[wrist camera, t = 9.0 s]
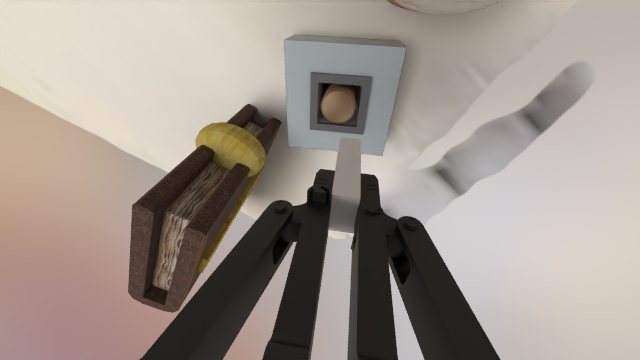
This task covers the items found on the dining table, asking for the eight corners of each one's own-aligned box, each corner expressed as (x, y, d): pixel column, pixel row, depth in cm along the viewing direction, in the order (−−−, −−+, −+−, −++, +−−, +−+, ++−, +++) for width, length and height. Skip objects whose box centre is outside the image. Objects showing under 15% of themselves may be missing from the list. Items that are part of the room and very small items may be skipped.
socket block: (296, 129, 42) (287, 148, 36) (295, 34, 33) (282, 40, 28) (380, 137, 40) (382, 158, 35) (399, 41, 32) (407, 48, 27)
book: (252, 197, 52) (184, 318, 32) (214, 179, 51) (118, 294, 31) (294, 111, 40) (225, 221, 20) (245, 84, 38) (118, 173, 18)
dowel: (325, 105, 38) (320, 122, 33) (327, 75, 35) (321, 88, 30) (354, 108, 38) (353, 125, 32) (358, 77, 35) (357, 91, 30)
